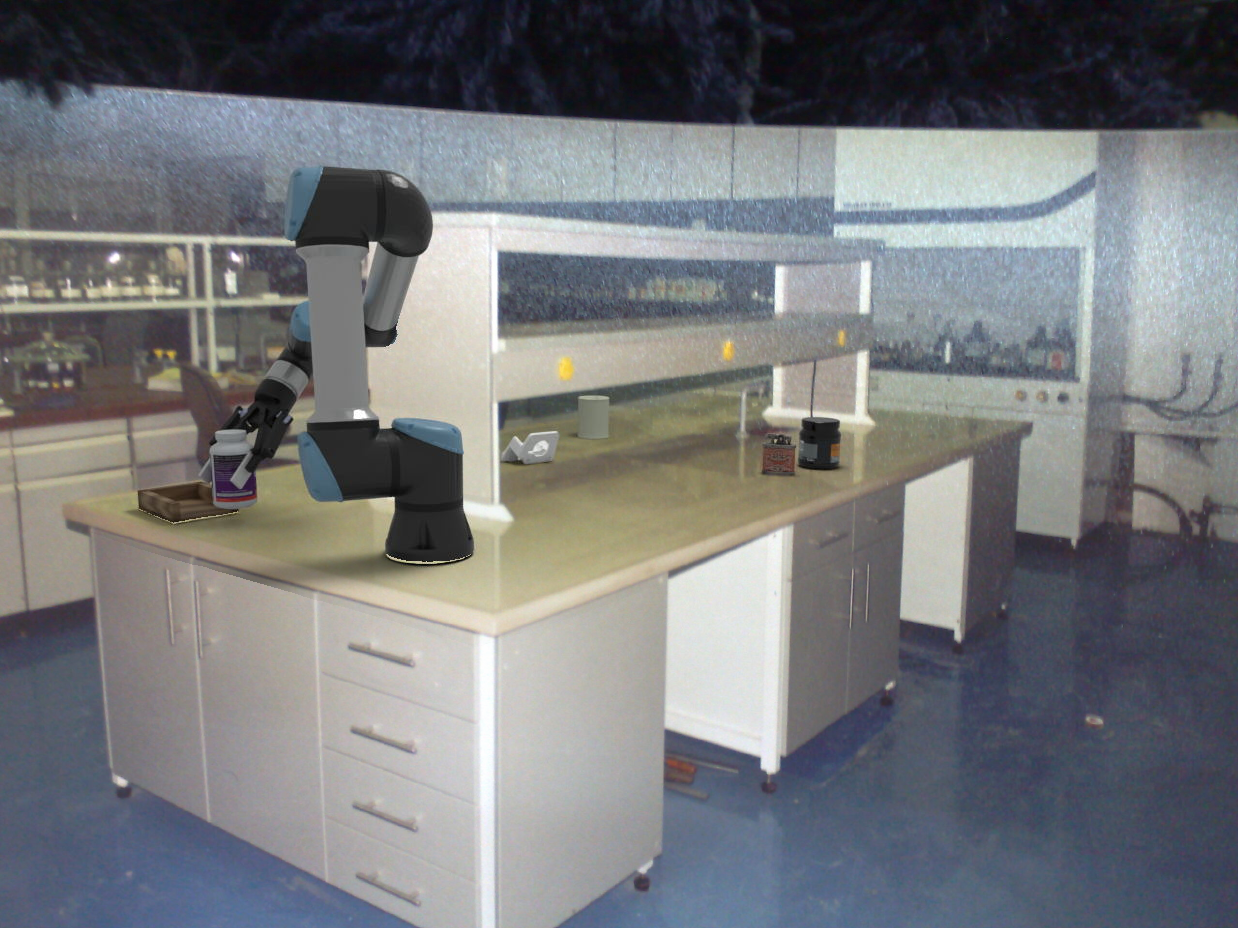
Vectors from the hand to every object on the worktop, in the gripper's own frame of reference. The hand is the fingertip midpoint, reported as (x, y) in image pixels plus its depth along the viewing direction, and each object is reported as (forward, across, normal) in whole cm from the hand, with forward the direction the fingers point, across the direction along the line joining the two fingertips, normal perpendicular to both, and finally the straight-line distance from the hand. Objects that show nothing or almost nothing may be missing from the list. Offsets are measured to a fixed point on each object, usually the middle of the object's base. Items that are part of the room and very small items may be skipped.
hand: (219, 482), depth 195 cm
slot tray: (+3, +14, -9) cm, 17 cm away
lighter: (-68, -72, -80) cm, 128 cm away
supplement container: (-79, -77, -91) cm, 143 cm away
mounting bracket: (-54, -13, -66) cm, 86 cm away
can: (-85, -6, -96) cm, 128 cm away
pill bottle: (+1, 0, -6) cm, 6 cm away
